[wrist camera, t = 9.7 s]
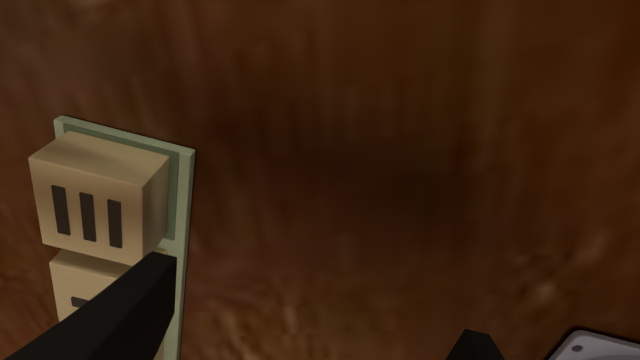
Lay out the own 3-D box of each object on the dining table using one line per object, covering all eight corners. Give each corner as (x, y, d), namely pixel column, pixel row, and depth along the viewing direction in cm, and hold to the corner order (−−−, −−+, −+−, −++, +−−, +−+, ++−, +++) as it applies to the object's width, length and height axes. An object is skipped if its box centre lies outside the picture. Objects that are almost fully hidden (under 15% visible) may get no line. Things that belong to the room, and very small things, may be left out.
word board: (179, 362, 27) (157, 411, 24) (87, 340, 27) (54, 387, 24) (196, 149, 18) (164, 188, 16) (61, 114, 18) (6, 147, 15)
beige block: (166, 233, 20) (141, 270, 18) (77, 210, 20) (40, 245, 18) (170, 155, 18) (141, 188, 16) (68, 129, 18) (25, 158, 15)
